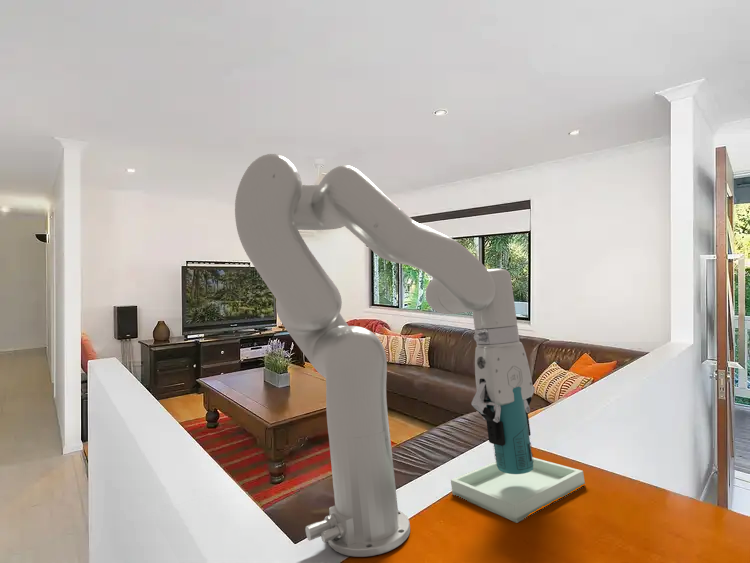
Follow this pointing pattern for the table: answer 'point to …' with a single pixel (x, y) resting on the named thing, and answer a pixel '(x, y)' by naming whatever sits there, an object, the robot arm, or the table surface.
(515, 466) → the beverage bottle
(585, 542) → the table surface
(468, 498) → the tray
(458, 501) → the table surface
